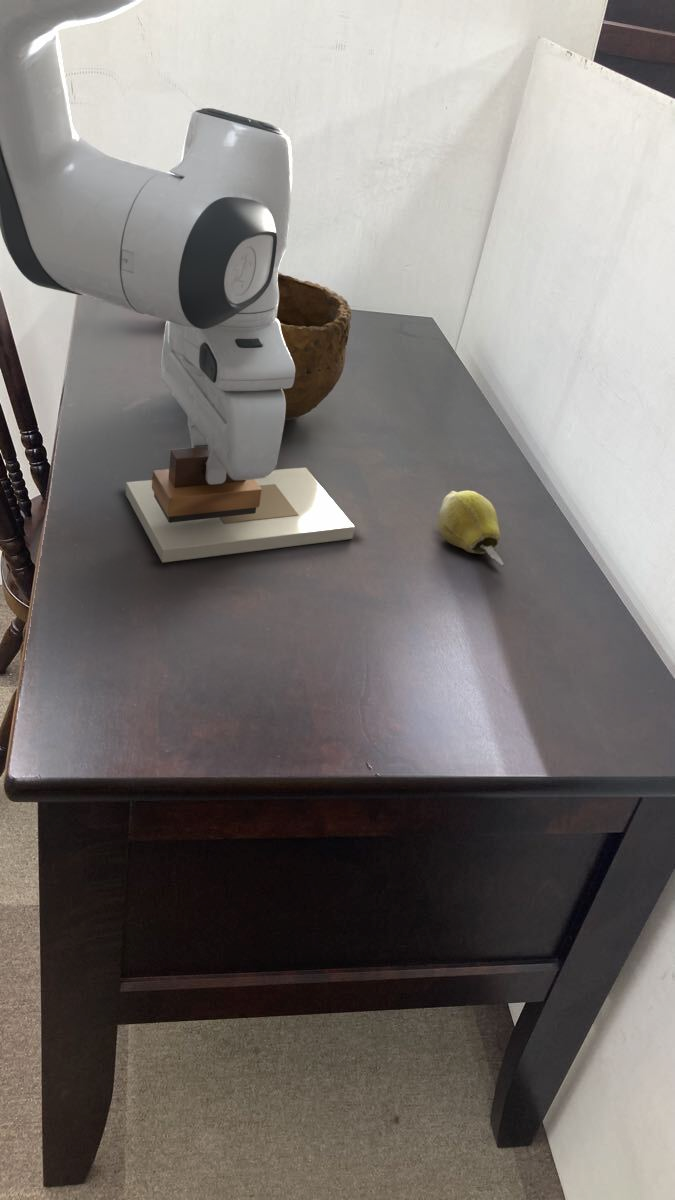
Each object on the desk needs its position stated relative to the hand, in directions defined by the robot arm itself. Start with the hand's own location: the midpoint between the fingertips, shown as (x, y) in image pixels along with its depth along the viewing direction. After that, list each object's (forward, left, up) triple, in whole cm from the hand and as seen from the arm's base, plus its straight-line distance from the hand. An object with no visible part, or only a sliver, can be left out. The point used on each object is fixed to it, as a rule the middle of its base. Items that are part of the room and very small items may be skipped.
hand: (207, 471), depth 83 cm
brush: (0, 0, -4) cm, 4 cm away
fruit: (+27, -8, -7) cm, 29 cm away
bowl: (+16, +24, -7) cm, 30 cm away
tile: (+5, +2, -7) cm, 9 cm away
